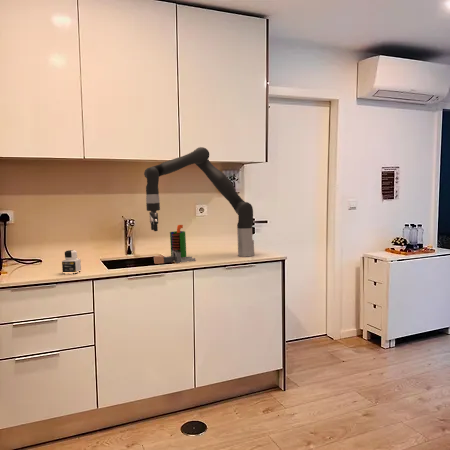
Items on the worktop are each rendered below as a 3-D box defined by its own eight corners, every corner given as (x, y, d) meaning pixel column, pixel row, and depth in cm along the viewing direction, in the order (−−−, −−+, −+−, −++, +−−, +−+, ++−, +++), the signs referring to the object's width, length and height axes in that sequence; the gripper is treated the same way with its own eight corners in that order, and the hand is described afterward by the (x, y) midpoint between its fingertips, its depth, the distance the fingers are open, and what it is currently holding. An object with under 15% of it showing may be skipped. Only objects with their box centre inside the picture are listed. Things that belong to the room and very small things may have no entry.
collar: (191, 258, 254) (190, 248, 253) (196, 261, 242) (195, 251, 242) (172, 260, 250) (172, 250, 249) (176, 263, 239) (176, 252, 238)
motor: (168, 257, 261) (166, 225, 259) (176, 255, 269) (175, 224, 267) (181, 258, 256) (180, 225, 254) (189, 255, 264) (188, 224, 262)
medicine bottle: (62, 274, 215) (61, 251, 214) (68, 271, 222) (66, 249, 221) (76, 274, 215) (74, 251, 214) (81, 271, 222) (80, 249, 221)
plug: (172, 261, 246) (172, 254, 246) (174, 262, 242) (173, 255, 242) (154, 262, 242) (153, 256, 242) (155, 263, 239) (154, 257, 238)
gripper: (144, 202, 243) (145, 230, 245) (148, 202, 230) (149, 232, 231) (157, 201, 246) (158, 229, 247) (161, 202, 232) (163, 231, 234)
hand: (154, 230), depth 239 cm, fingers open, 8 cm apart
